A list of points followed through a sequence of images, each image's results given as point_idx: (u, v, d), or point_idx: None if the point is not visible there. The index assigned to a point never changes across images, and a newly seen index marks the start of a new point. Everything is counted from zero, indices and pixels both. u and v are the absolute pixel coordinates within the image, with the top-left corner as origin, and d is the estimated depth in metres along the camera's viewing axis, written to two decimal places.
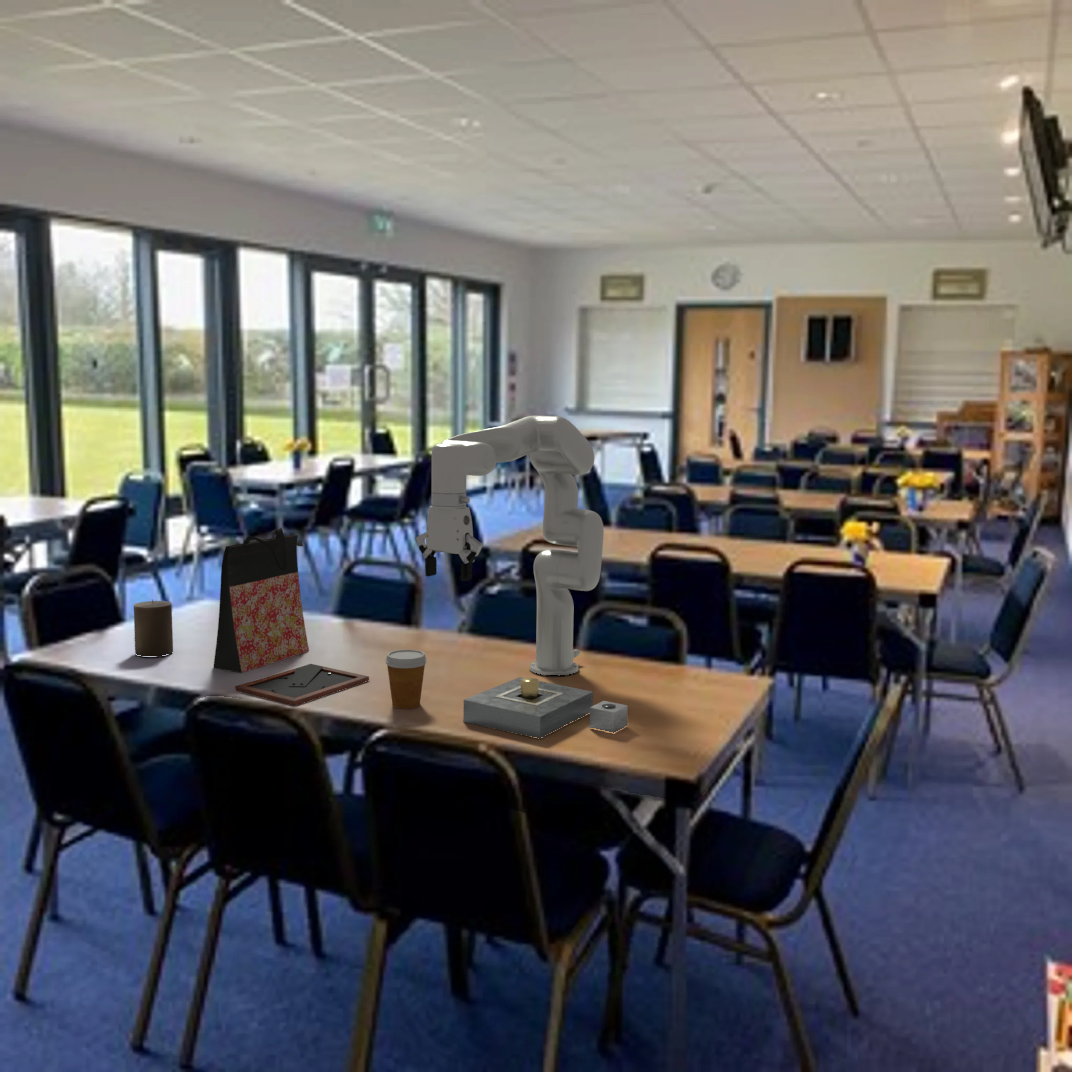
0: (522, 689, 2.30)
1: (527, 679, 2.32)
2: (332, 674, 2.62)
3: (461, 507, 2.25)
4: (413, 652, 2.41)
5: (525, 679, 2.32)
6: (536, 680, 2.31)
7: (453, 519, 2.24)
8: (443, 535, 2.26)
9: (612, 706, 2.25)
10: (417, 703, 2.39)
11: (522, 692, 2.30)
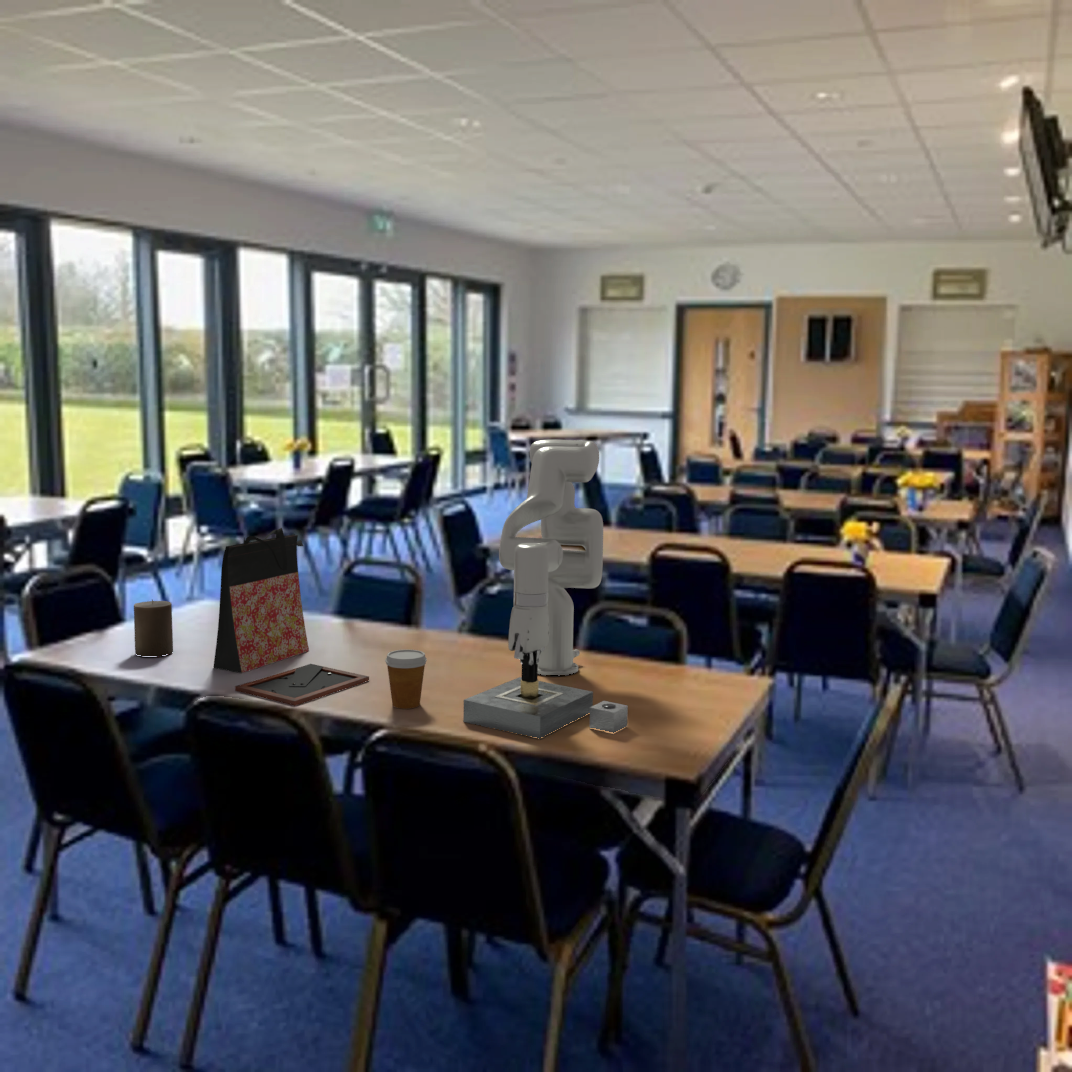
0: (522, 689, 2.30)
1: None
2: (332, 674, 2.62)
3: None
4: (413, 652, 2.41)
5: None
6: None
7: (546, 615, 2.30)
8: (540, 633, 2.29)
9: (612, 706, 2.25)
10: (417, 703, 2.39)
11: (522, 692, 2.30)
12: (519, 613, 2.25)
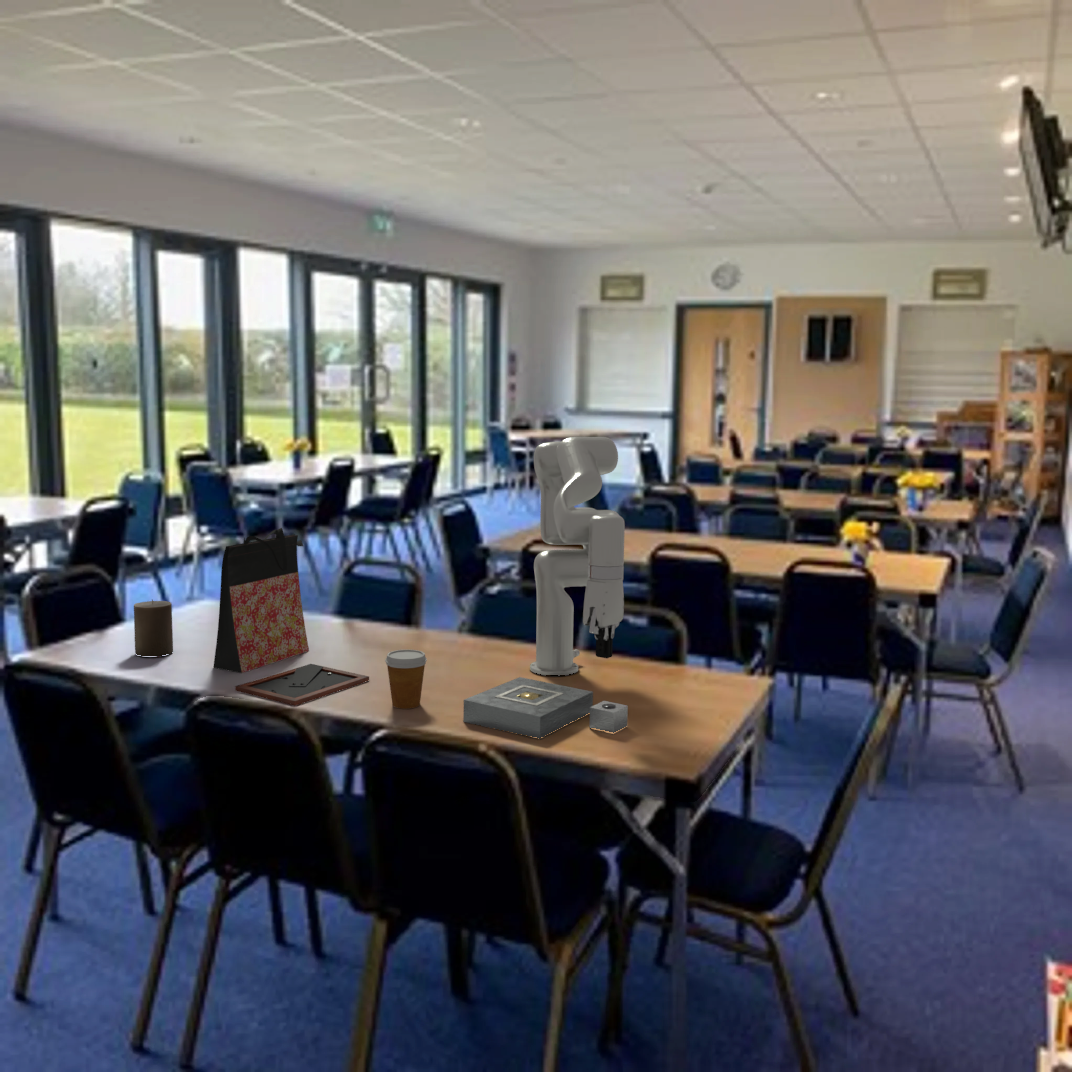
0: None
1: (527, 693, 2.33)
2: (332, 674, 2.62)
3: None
4: (413, 652, 2.41)
5: (525, 693, 2.33)
6: (536, 695, 2.32)
7: (621, 589, 2.23)
8: (615, 607, 2.22)
9: (612, 706, 2.25)
10: (417, 703, 2.39)
11: None
12: (595, 586, 2.18)
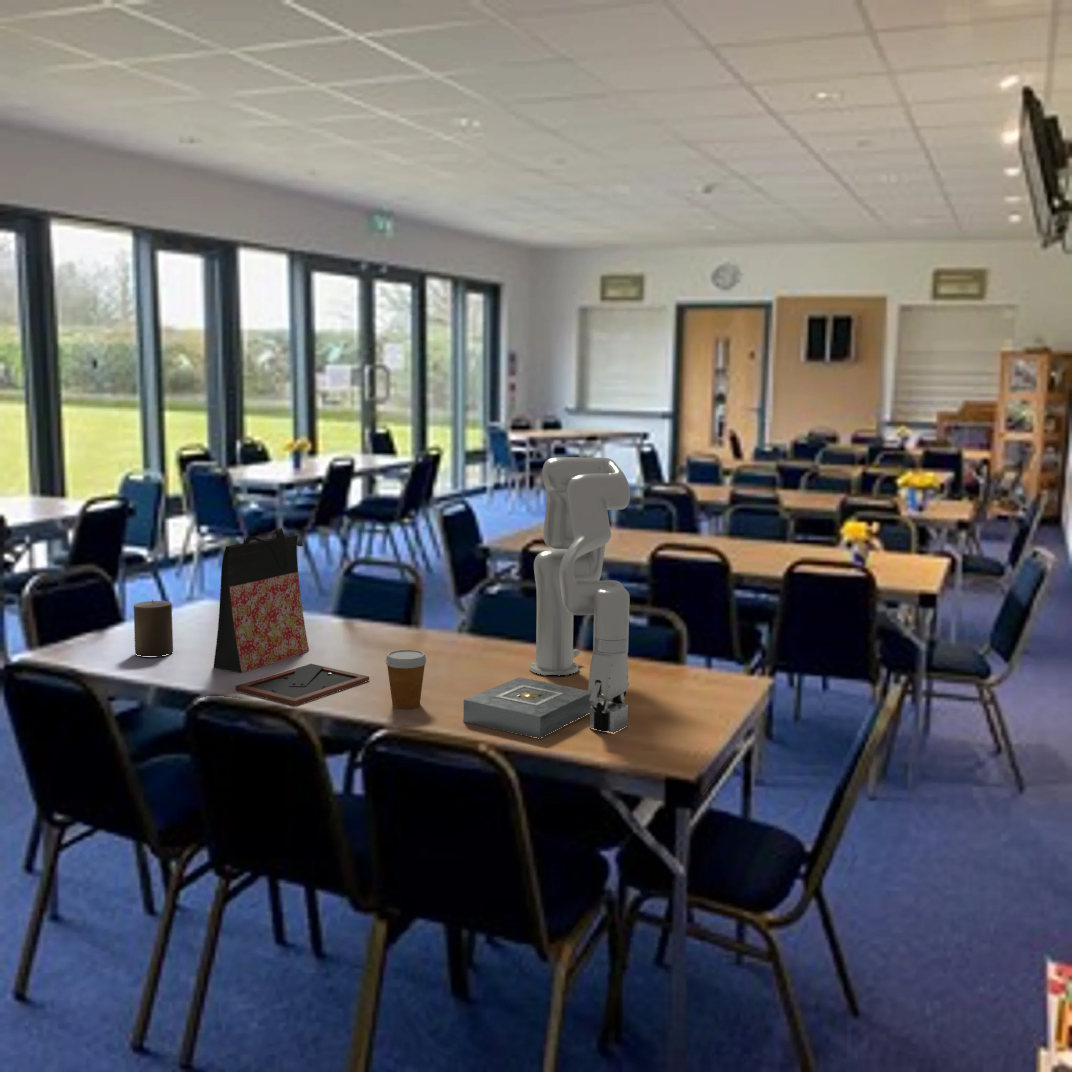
0: None
1: (527, 693, 2.33)
2: (332, 674, 2.62)
3: None
4: (413, 652, 2.41)
5: (525, 693, 2.33)
6: (536, 695, 2.32)
7: (626, 660, 2.25)
8: (620, 679, 2.24)
9: (612, 705, 2.25)
10: (417, 703, 2.39)
11: None
12: (600, 660, 2.20)
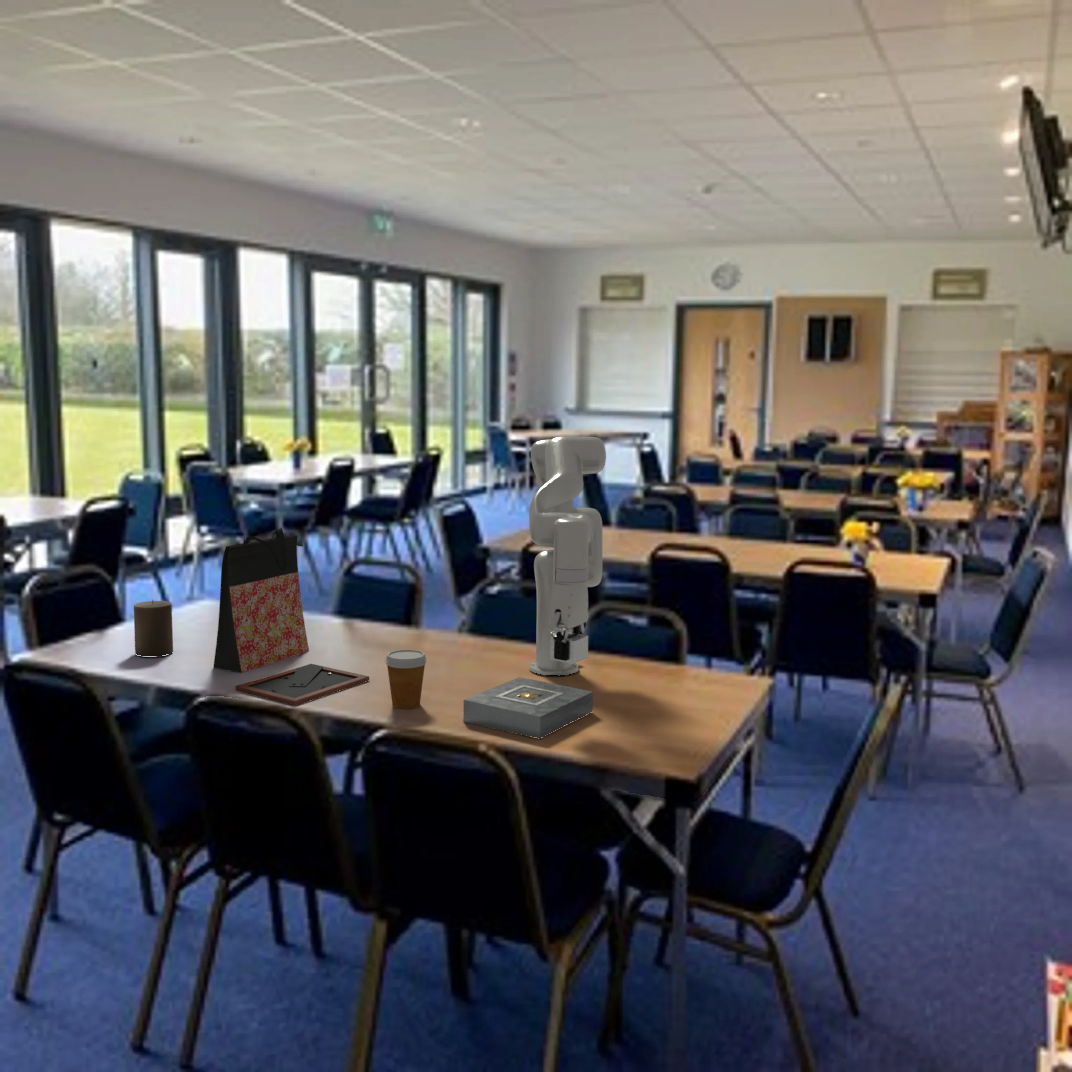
0: None
1: (527, 693, 2.33)
2: (332, 674, 2.62)
3: None
4: (413, 652, 2.41)
5: (525, 693, 2.33)
6: (536, 695, 2.32)
7: (586, 590, 2.27)
8: (580, 609, 2.25)
9: (572, 636, 2.26)
10: (417, 703, 2.39)
11: None
12: (560, 589, 2.21)
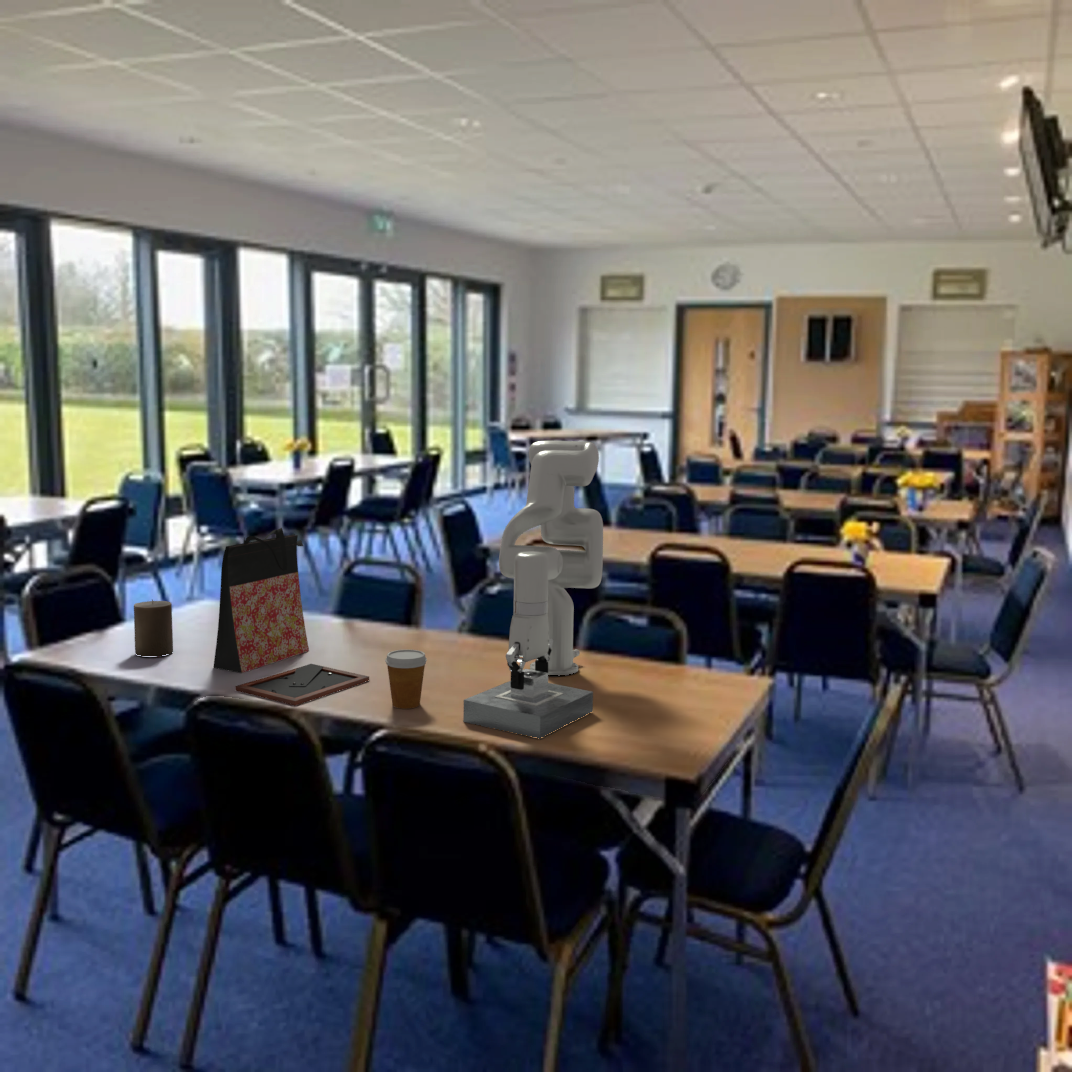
0: None
1: None
2: (332, 674, 2.62)
3: None
4: (413, 652, 2.41)
5: None
6: None
7: (546, 623, 2.31)
8: (540, 641, 2.29)
9: (533, 673, 2.31)
10: (417, 703, 2.39)
11: None
12: (519, 622, 2.25)
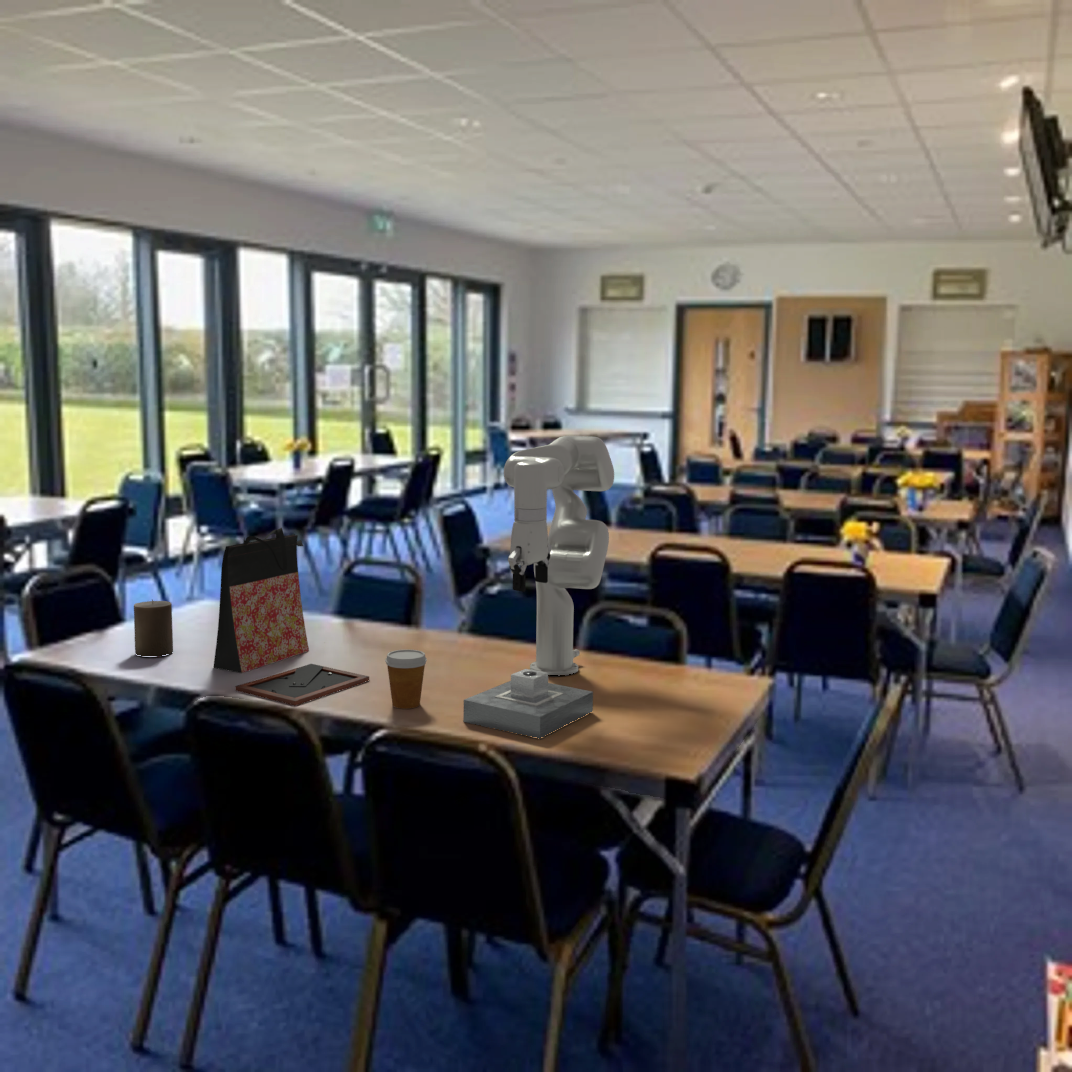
0: None
1: None
2: (332, 674, 2.62)
3: None
4: (413, 652, 2.41)
5: None
6: None
7: (545, 529, 2.44)
8: (540, 546, 2.42)
9: (533, 673, 2.31)
10: (417, 703, 2.39)
11: None
12: (520, 527, 2.38)
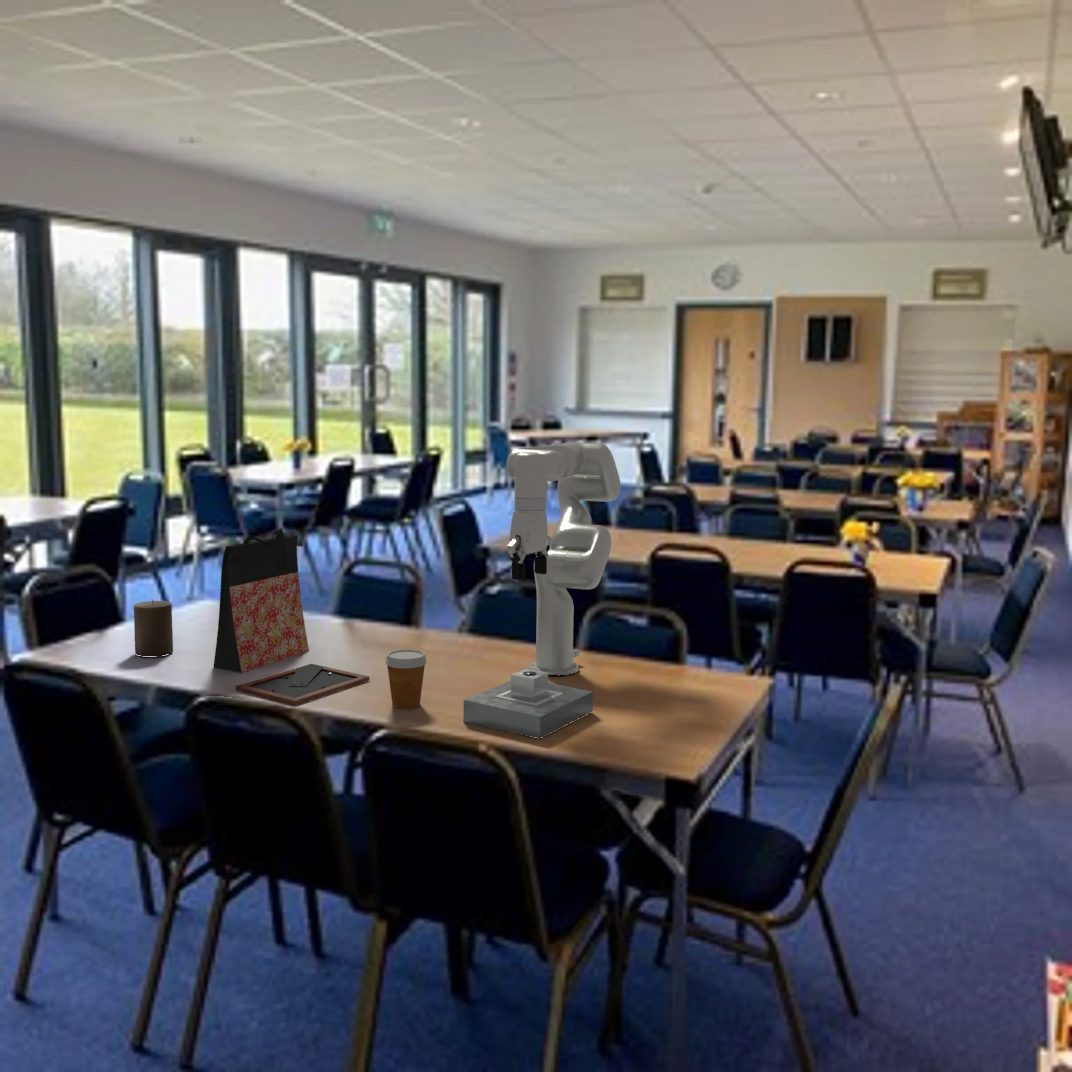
0: None
1: None
2: (332, 674, 2.62)
3: None
4: (413, 652, 2.41)
5: None
6: None
7: (545, 520, 2.47)
8: (539, 536, 2.45)
9: (533, 673, 2.31)
10: (417, 703, 2.39)
11: None
12: (520, 516, 2.42)
